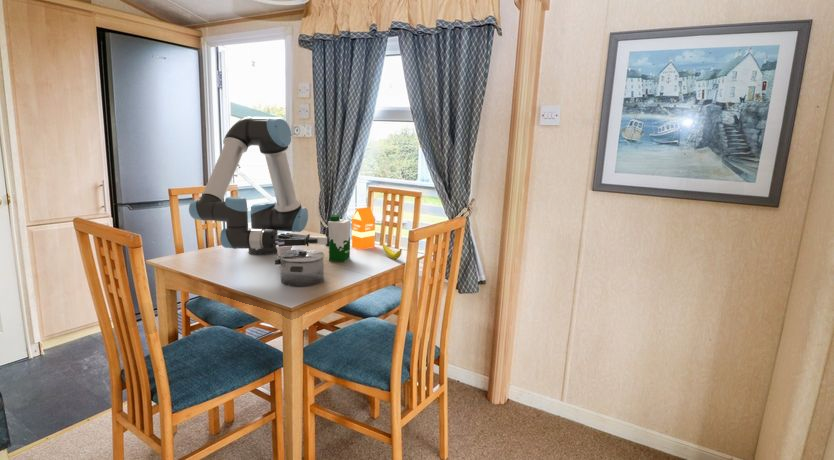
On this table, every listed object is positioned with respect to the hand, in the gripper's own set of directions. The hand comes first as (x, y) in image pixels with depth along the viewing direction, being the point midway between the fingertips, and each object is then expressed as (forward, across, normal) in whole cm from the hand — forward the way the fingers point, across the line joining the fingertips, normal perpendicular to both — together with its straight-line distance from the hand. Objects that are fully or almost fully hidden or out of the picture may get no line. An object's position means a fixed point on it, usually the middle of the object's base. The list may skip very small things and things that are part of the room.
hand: (326, 240), depth 173 cm
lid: (-9, 0, -7) cm, 11 cm away
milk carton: (+1, -30, -16) cm, 34 cm away
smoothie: (-21, -16, -16) cm, 31 cm away
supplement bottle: (-7, -58, -16) cm, 61 cm away
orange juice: (+9, -56, -16) cm, 59 cm away
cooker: (-9, 0, -16) cm, 19 cm away
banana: (+24, -35, -16) cm, 46 cm away
